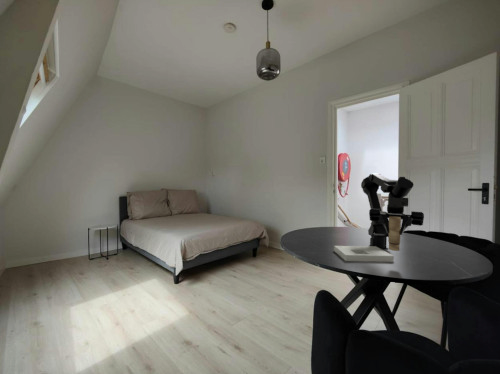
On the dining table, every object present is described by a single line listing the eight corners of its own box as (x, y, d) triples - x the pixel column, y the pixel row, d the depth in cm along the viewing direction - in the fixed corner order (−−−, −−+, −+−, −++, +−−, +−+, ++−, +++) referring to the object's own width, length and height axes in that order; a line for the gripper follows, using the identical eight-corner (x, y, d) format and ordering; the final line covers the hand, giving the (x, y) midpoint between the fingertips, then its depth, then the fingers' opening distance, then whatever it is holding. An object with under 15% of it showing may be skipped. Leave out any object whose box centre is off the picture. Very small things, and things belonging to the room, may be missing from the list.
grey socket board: (375, 251, 111) (376, 246, 111) (393, 261, 97) (393, 255, 97) (334, 250, 111) (334, 245, 111) (345, 261, 97) (345, 255, 97)
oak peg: (396, 248, 93) (396, 216, 93) (402, 251, 89) (403, 217, 89) (386, 247, 94) (386, 216, 93) (391, 250, 90) (392, 217, 89)
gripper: (370, 189, 99) (366, 218, 90) (424, 191, 89) (426, 224, 80) (371, 206, 106) (368, 234, 97) (421, 209, 96) (423, 241, 87)
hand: (394, 233), depth 90 cm, fingers closed on oak peg, 4 cm apart
